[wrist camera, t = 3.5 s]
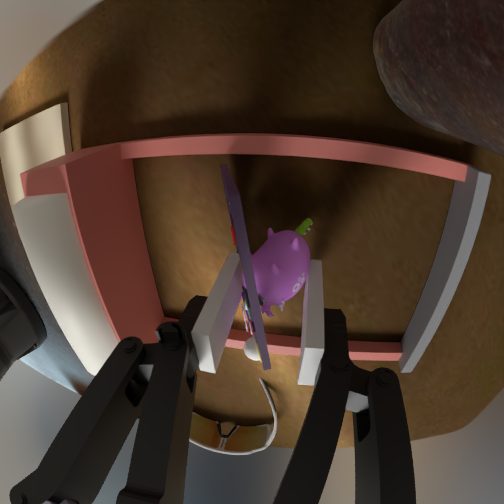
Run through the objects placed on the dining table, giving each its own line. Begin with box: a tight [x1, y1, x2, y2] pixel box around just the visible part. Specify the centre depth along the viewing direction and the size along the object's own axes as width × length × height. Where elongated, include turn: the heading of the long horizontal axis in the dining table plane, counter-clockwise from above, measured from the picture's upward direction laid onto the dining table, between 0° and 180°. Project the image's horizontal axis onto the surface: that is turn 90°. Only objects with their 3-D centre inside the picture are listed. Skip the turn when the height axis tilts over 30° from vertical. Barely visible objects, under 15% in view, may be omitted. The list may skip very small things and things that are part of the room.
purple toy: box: [220, 164, 313, 370], centre depth 14 cm, size 7×5×9 cm
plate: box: [0, 102, 72, 238], centre depth 18 cm, size 12×12×1 cm
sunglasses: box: [189, 378, 277, 455], centre depth 29 cm, size 14×15×5 cm
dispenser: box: [12, 133, 491, 376], centre depth 15 cm, size 26×16×8 cm, turn 91°
